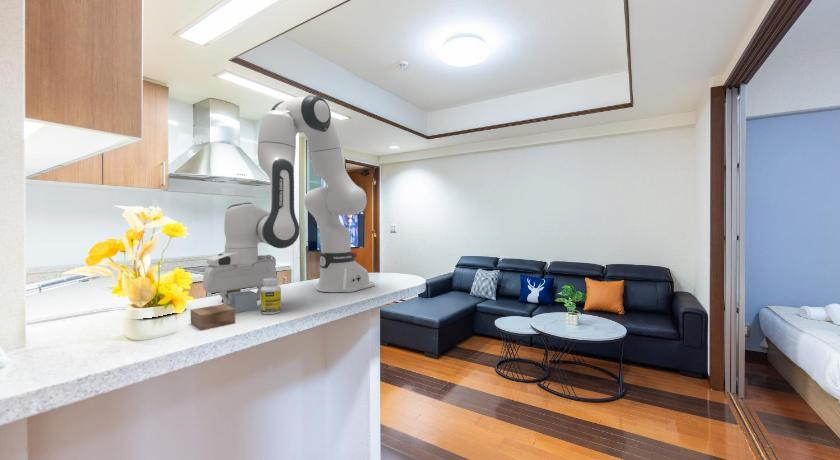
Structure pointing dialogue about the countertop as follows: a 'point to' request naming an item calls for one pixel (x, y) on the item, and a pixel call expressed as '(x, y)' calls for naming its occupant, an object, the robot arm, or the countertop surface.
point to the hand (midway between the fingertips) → (242, 302)
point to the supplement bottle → (270, 296)
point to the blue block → (243, 301)
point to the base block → (212, 316)
